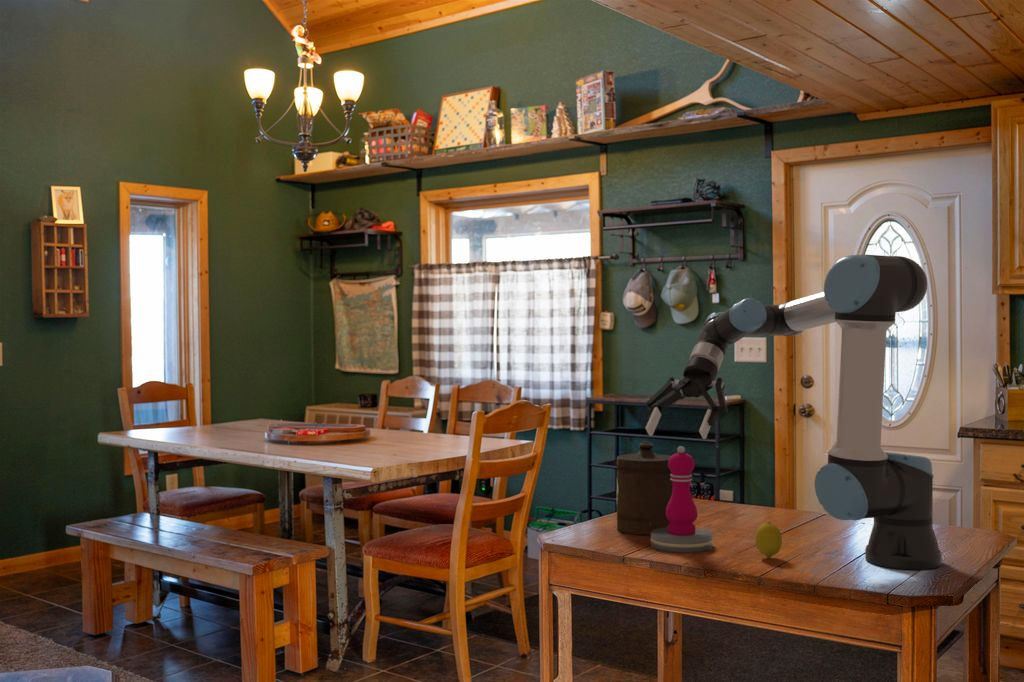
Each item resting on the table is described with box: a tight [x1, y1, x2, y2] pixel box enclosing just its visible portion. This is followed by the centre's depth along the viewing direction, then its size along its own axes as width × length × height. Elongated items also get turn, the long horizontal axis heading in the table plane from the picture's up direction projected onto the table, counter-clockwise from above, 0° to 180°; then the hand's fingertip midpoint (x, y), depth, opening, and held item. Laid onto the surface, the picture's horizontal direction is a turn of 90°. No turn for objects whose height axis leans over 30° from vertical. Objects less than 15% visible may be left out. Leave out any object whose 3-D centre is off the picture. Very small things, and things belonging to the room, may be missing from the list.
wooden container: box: [616, 440, 673, 536], centre depth 245 cm, size 15×15×22 cm
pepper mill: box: [666, 445, 698, 536], centre depth 226 cm, size 7×7×20 cm
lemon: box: [755, 521, 783, 559], centre depth 213 cm, size 6×6×8 cm
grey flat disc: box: [650, 527, 713, 554], centre depth 226 cm, size 14×14×3 cm
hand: (675, 433), depth 224 cm, fingers open, 13 cm apart
